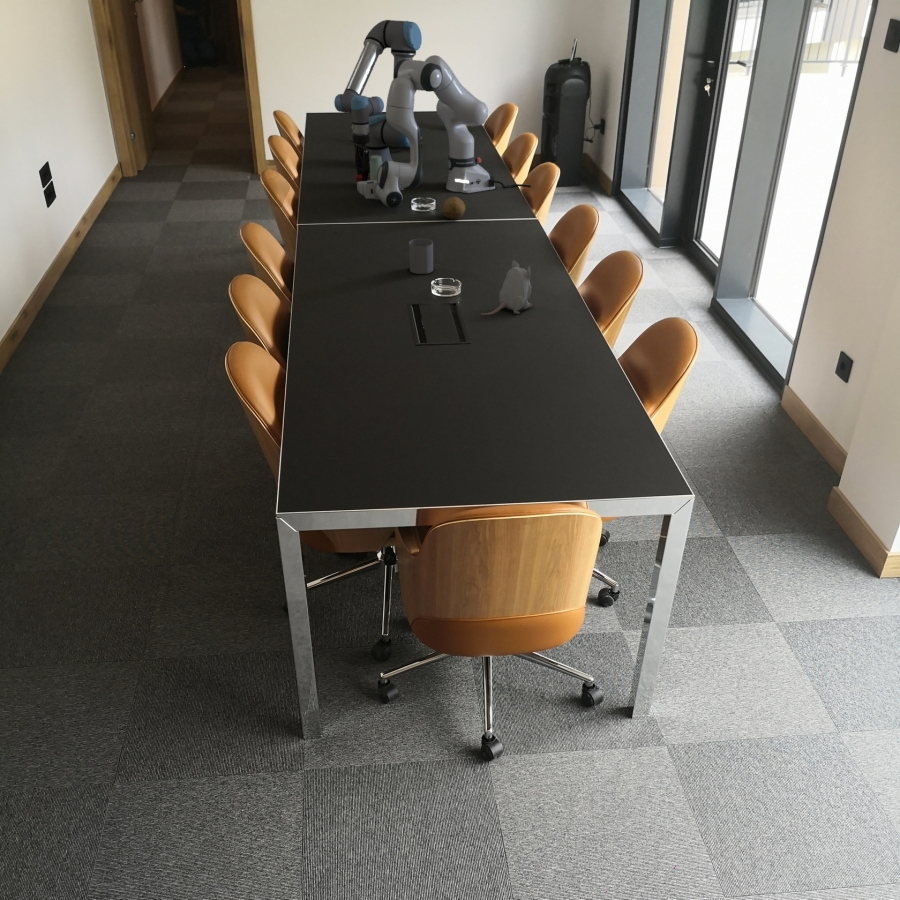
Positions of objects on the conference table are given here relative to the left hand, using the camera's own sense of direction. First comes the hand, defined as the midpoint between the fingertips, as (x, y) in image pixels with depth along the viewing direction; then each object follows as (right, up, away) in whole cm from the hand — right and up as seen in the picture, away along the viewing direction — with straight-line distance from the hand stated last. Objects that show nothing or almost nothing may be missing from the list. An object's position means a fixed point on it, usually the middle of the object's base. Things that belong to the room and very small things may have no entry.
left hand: (363, 185), depth 397 cm
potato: (+41, -26, -40) cm, 63 cm away
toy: (+57, -78, -121) cm, 155 cm away
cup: (+30, -57, -89) cm, 110 cm away
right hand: (+7, -3, -16) cm, 18 cm away
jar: (+8, -9, -13) cm, 17 cm away
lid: (0, +3, -2) cm, 4 cm away
